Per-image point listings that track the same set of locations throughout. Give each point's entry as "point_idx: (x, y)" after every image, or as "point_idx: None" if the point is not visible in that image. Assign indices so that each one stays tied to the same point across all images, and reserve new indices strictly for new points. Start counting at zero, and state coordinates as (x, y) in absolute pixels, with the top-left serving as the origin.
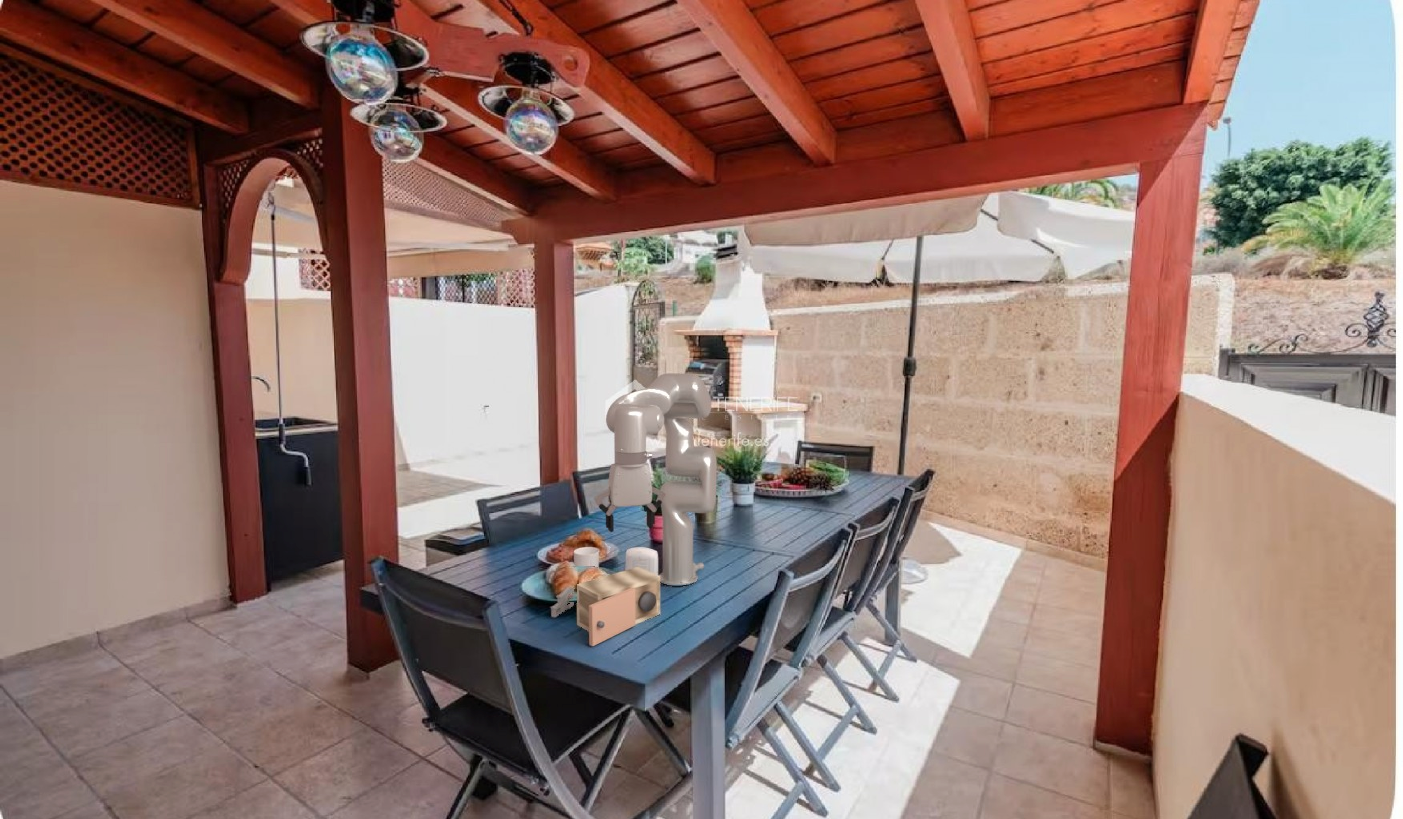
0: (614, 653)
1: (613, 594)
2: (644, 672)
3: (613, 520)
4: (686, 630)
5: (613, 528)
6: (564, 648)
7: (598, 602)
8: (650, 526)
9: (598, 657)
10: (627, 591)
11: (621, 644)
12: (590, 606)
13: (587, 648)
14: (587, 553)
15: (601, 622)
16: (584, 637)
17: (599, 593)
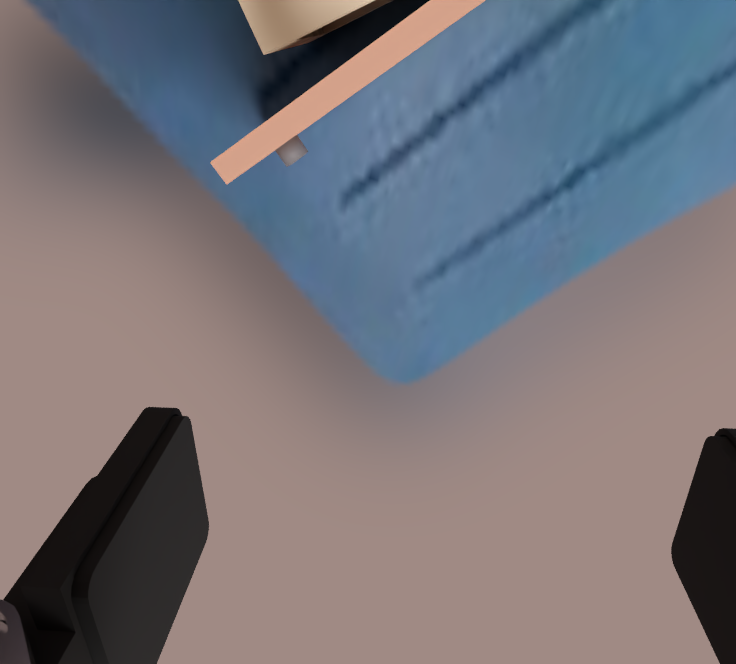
0: (348, 206)
1: (369, 2)
2: (413, 356)
3: (158, 655)
4: (697, 104)
5: (197, 561)
6: (168, 97)
7: (262, 134)
8: (687, 574)
9: (289, 215)
10: (458, 12)
11: (389, 141)
12: (218, 173)
13: None
14: None
15: (291, 161)
16: None
17: (274, 29)
